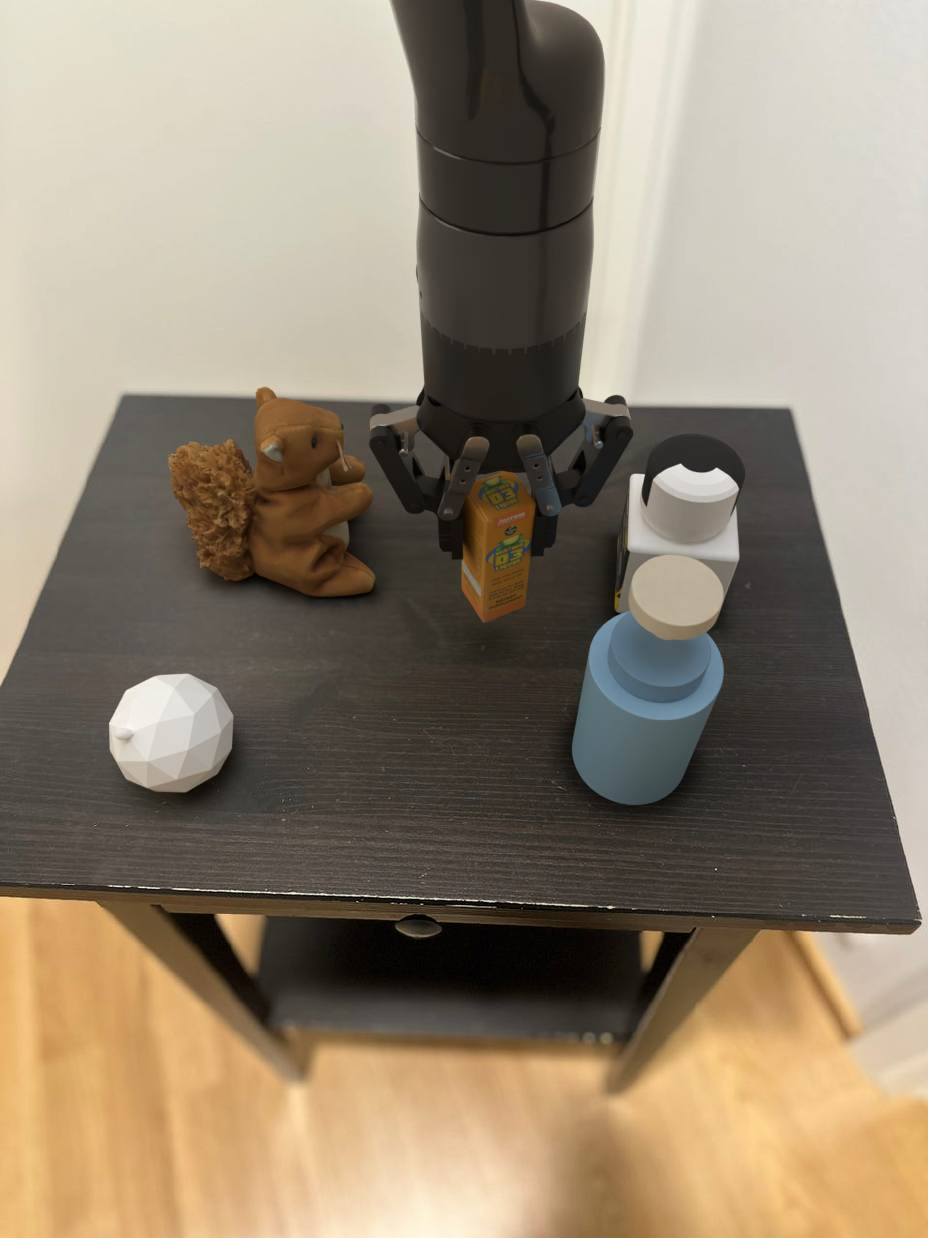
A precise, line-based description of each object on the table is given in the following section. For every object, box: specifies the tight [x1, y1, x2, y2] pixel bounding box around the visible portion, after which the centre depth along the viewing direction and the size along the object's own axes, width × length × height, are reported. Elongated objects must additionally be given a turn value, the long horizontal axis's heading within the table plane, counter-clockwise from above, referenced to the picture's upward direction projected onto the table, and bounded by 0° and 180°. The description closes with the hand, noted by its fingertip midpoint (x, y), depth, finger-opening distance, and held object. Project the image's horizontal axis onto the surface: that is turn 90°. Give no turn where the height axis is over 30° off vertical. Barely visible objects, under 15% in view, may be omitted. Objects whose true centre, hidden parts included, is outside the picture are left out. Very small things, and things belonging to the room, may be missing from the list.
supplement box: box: [461, 471, 535, 623], centre depth 52 cm, size 3×3×10 cm
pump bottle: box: [571, 611, 725, 806], centre depth 50 cm, size 7×7×12 cm
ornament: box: [108, 673, 234, 793], centre depth 52 cm, size 7×7×8 cm
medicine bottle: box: [614, 433, 746, 614], centre depth 58 cm, size 7×7×12 cm
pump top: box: [628, 555, 725, 640], centre depth 43 cm, size 4×4×3 cm
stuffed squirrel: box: [167, 386, 376, 598], centre depth 60 cm, size 10×14×13 cm
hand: (496, 546), depth 52 cm, fingers closed on supplement box, 4 cm apart
